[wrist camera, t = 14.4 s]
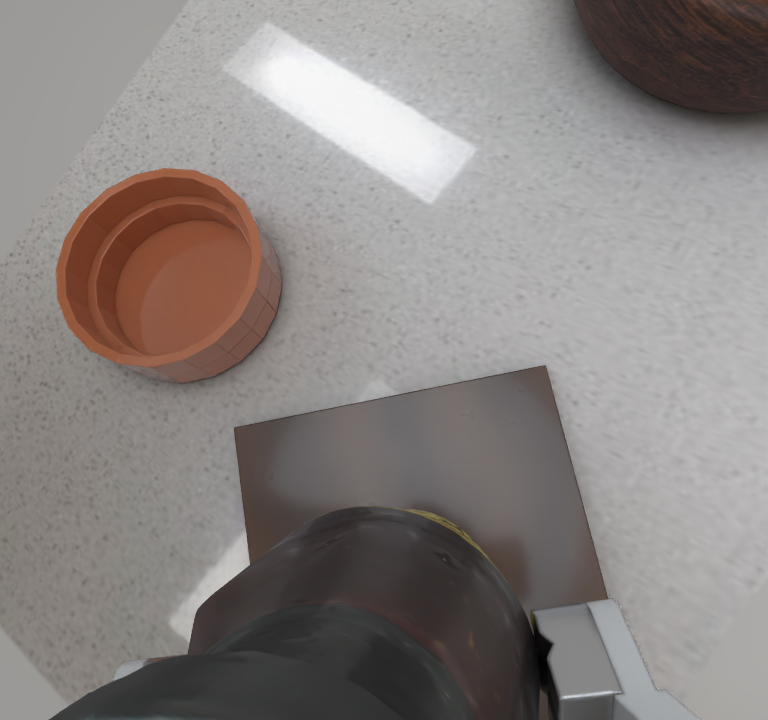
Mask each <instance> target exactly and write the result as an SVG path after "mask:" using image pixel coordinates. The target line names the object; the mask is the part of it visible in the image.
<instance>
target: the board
mask: <svg viewBox="0 0 768 720" xmlns="http://www.w3.org/2000/svg"><path fill="white" fill-rule="evenodd" d="M234 432H235V441H236V449H237V458H238V466H239V475H240V483H241V491H242V500H243V508H244V517H245V525H246V533H247V542H248V550H249V559H250V565H251V564H252V563H253V562H255V561H256V560H257V559H258V558H260V557H261V556H262V555H264V554H265V553H266V552H267V551H269V550H270V549H271V548H273V547H274V546H275V545H276V544H278V543H279V542H280V541H281V540H283V539H284V538H285V537H287V536H288V535H289V534H290V533H292V532H293V531H295V530H296V529H297V528H299V527H300V526H301V525H303V524H304V523H306V522H308V521H310V520H312V519H315V518H317V517H319V516H321V515H323V514H326V513H329V512H332V511H336V510H341V509H346V508H351V507H363V506H387V507H392V508H400V509H415V510H421V511H426V512H430V513H433V514H436V515H438V516H440V517H443V518H445V519H447V520H448V521H450V522H452V523H453V524H455V525H457V526H458V527H459V528H461V529H462V530H463V531H464V532H465V533H466V534H468V535H469V536H470V537H471V538H472V540H474V541H475V543H476V544H477V545H478V546H479V547H480V548H481V549H482V550H483V551H484V553H486V554H487V555H488V556H489V557H490V559H491V561H492V562H493V563H494V564H495V565H496V566H497V567H498V568H499V569H500V571H501V572H502V574H503V575H504V577H505V578H506V580H507V582H508V583H509V585H510V586H511V588H512V589H513V590H514V593H515V594H516V596H517V597H518V599H519V601H520V603H521V605H522V607H523V609H524V611H525V613H526V615H527V617H528V620H529V623H530V626H531V629H532V625H531V621H530V612H531V610H532V609H538V608H545V607H552V606H559V605H566V604H573V603H579V602H584V603H585V602H592V601H599V600H606V599H608V596H607V593H606V589H605V585H604V581H603V578H602V574H601V570H600V566H599V563H598V559H597V555H596V551H595V548H594V544H593V540H592V537H591V533H590V529H589V525H588V522H587V518H586V514H585V510H584V507H583V503H582V499H581V495H580V492H579V488H578V484H577V480H576V477H575V473H574V469H573V465H572V462H571V458H570V454H569V451H568V447H567V443H566V439H565V436H564V432H563V428H562V424H561V421H560V417H559V413H558V409H557V406H556V402H555V398H554V394H553V391H552V387H551V383H550V379H549V376H548V372H547V368H546V366H545V365H544V366H539V367H534V368H529V369H524V370H519V371H514V372H509V373H504V374H499V375H494V376H489V377H484V378H479V379H474V380H469V381H464V382H459V383H454V384H449V385H444V386H439V387H434V388H429V389H424V390H419V391H414V392H409V393H404V394H399V395H394V396H389V397H385V398H380V399H375V400H370V401H365V402H360V403H355V404H350V405H345V406H340V407H335V408H330V409H325V410H320V411H315V412H310V413H305V414H300V415H295V416H290V417H285V418H280V419H275V420H270V421H265V422H260V423H255V424H250V425H245V426H240V427H235V428H234ZM532 632H533V629H532ZM533 634H534V632H533ZM539 720H549V718H548V699H547V696H546V695H545V694H544V693H543V692H542V691H541V688H540V698H539Z"/></svg>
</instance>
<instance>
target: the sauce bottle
mask: <svg viewBox="0 0 768 720" xmlns="http://www.w3.org/2000/svg"><path fill="white" fill-rule="evenodd" d="M539 698H540V673H539V665H538V651H537V646H536V641H535V638H534V635H533V632H532V629H531V626H530V623H529V620H528V617H527V615H526V613H525V611H524V609H523V607H522V605H521V603H520V601H519V599H518V597H517V596H516V594H515V593H514V590H513V589H512V588H511V586H510V585H509V583H508V582H507V580H506V578H505V577H504V575H503V574H502V572H501V571H500V569H499V568H498V567H497V566H496V565H495V564H494V563H493V562H492V561H491V559H490V557H489V556H488V555H487V554H486V553H484V551H483V550H482V549H481V548H480V547H479V546H478V545H477V544H476V543H475V541H474V540H472V538H471V537H470V536H469V535H468V534H466V533H465V532H464V531H463V530H462V529H461V528H459V527H458V526H457V525H455V524H453V523H452V522H450V521H448V520H447V519H445V518H443V517H440V516H438V515H436V514H433V513H430V512H426V511H421V510H415V509H400V508H392V507H387V506H363V507H351V508H346V509H341V510H336V511H332V512H329V513H326V514H323V515H321V516H319V517H317V518H315V519H312V520H310V521H308V522H306V523H304V524H303V525H301V526H300V527H299V528H297V529H296V530H295V531H293V532H292V533H290V534H289V535H288V536H287V537H285V538H284V539H283V540H281V541H280V542H279V543H278V544H276V545H275V546H274V547H273V548H271V549H270V550H269V551H267V552H266V553H265V554H264V555H262V556H261V557H260V558H258V559H257V560H256V561H255V562H253V563H252V564H251V565H250V566H248V567H247V568H246V569H244V570H243V571H242V572H241V573H239V574H238V575H237V576H236V577H234V578H233V579H232V580H230V581H229V582H228V583H227V584H225V585H224V586H223V587H222V588H220V589H219V590H218V591H216V592H215V593H214V594H213V595H211V596H210V597H209V598H208V599H207V600H206V601H205V602H204V603H203V604H202V605H201V606H200V607H199V608H198V610H197V612H196V615H195V619H194V623H193V629H192V634H191V639H190V644H189V649H188V654H187V655H183V656H178V657H172V658H166V659H163V660H160V661H157V662H154V663H151V664H148V665H146V666H144V667H142V668H140V669H138V670H136V671H135V672H133V673H131V674H129V675H127V676H125V677H122V678H120V679H117V680H115V681H113V682H111V683H108V684H106V685H104V686H102V687H100V688H98V689H96V690H95V691H93V692H91V693H88V694H87V695H85V696H84V697H83V698H81V699H79V700H78V701H76V702H74V703H73V704H71V705H70V706H68V707H67V708H65V709H64V710H62V711H61V712H59V713H58V714H56V715H55V716H54V717H52V718H51V719H49V720H539Z"/></svg>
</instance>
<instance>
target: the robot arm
mask: <svg viewBox="0 0 768 720" xmlns="http://www.w3.org/2000/svg"><path fill="white" fill-rule="evenodd" d="M530 621H531V625H532V629H533V632H534V634H533V635H534V638H535V641H536V646H537V651H538V665H539V673H540V688H541V691H542V692H543V693H544V694H545V695H546V696H547V699H548V718H549V720H701V719H700V718H699V717H698V716H696V715H695V714H694V713H693V712H692V711H691V710H689V709H688V708H687V707H686V706H685V705H684V704H682V703H681V702H680V701H679V700H678V699H677V698H675V697H674V696H673V695H672V694H671V693H669V692H668V691H667V690H666V689H664V690H657V689H656V687H655V685H654V682H653V680H652V678H651V676H650V673H649V671H648V669H647V667H646V665H645V662H644V660H643V658H642V656H641V653H640V651H639V649H638V647H637V644H636V642H635V640H634V638H633V635H632V633H631V631H630V629H629V626H628V624H627V622H626V620H625V618H624V615H623V613H622V611H621V609H620V606H619V605H618V603H617V602H616V601H615V600H613V599H606V600H599V601H592V602H585V603H584V602H579V603H573V604H566V605H559V606H552V607H545V608H538V609H532V610H531V612H530ZM183 655H187V654H182V655H174V656H166V657H157V658H146V659H138V660H131V661H123V662H122V664H121V665H120V666H119V668H118V669H117V670H116V672H115V674H114V676H113V679H112V682H113V681H115V680H117V679H120V678H122V677H125V676H127V675H129V674H131V673H133V672H135V671H136V670H138V669H140V668H142V667H144V666H146V665H148V664H151V663H154V662H157V661H160V660H163V659H166V658H172V657H178V656H183Z"/></svg>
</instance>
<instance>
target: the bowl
mask: <svg viewBox="0 0 768 720" xmlns="http://www.w3.org/2000/svg"><path fill="white" fill-rule="evenodd" d="M56 283H57V300H58V303H59V305H60V308H61V310H62V313H63V315H64V318H65V320H66V323H67V325H68V327H69V329H70V330H71V331H72V332H73V333H74V334H75V335H76V336H77V337H78V338H79V340H80V341H81V342H82V343H83V344H84V345H85V346H86V347H87V348H88V349H89V350H90V351H92V352H94V353H96V354H98V355H100V356H102V357H105V358H107V359H109V360H111V361H113V362H115V363H117V364H119V365H122V366H124V367H126V368H129V369H131V370H133V371H136V372H138V373H140V374H143V375H145V376H147V377H150V378H152V379H155V380H163V381H172V382H180V383H185V382H190V381H195V380H200V379H205V378H210V377H213V376H215V375H217V374H219V373H221V372H223V371H224V370H226V369H228V368H230V367H232V366H234V365H235V364H237V363H239V362H240V361H242V360H243V359H244V358H245V357H246V356H247V355H248V354H249V353H250V352H251V351H252V350H253V349H254V348H255V347H256V346H257V345H258V344H259V343H260V342H261V341H262V339H263V337H264V336H265V334H266V332H267V330H268V328H269V326H270V324H271V322H272V320H273V319H274V317H275V315H276V312H277V308H278V303H279V297H280V292H281V286H282V285H281V284H282V281H281V274H280V268H279V261H278V257H277V254H276V253H275V251H274V249H273V247H272V245H271V243H270V241H269V240H268V238H267V236H266V234H265V233H264V231H263V229H262V228H261V226H260V225H259V223H258V222H257V220H256V219H255V217H254V215H253V214H252V212H251V211H250V209H249V208H248V206H247V204H246V203H245V201H244V200H243V199H242V198H241V197H239V196H238V195H237V194H236V193H235V192H234V191H233V190H231V189H230V188H229V187H228V186H227V185H226V184H225V183H224V182H222V181H220V180H218V179H215V178H213V177H210V176H208V175H205V174H203V173H200V172H198V171H194V170H182V169H167V168H165V169H164V168H163V169H159V170H154V171H150V172H145V173H141V174H136V175H133V176H131V177H129V178H127V179H125V180H123V181H122V182H120V183H118V184H116V185H114V186H112V187H110V188H108V189H106V191H104V192H103V193H102V194H101V195H100V196H98V197H97V198H96V199H95V200H94V201H93V202H92V203H91V204H90V205H89V206H88V207H87V208H85V209H84V210H83V211H82V212H81V213H80V215H79V217H78V218H77V220H76V221H75V223H74V225H73V226H72V228H71V229H70V231H69V233H68V234H67V236H66V237H65V240H64V243H63V246H62V250H61V253H60V257H59V261H58V264H57V268H56Z"/></svg>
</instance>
